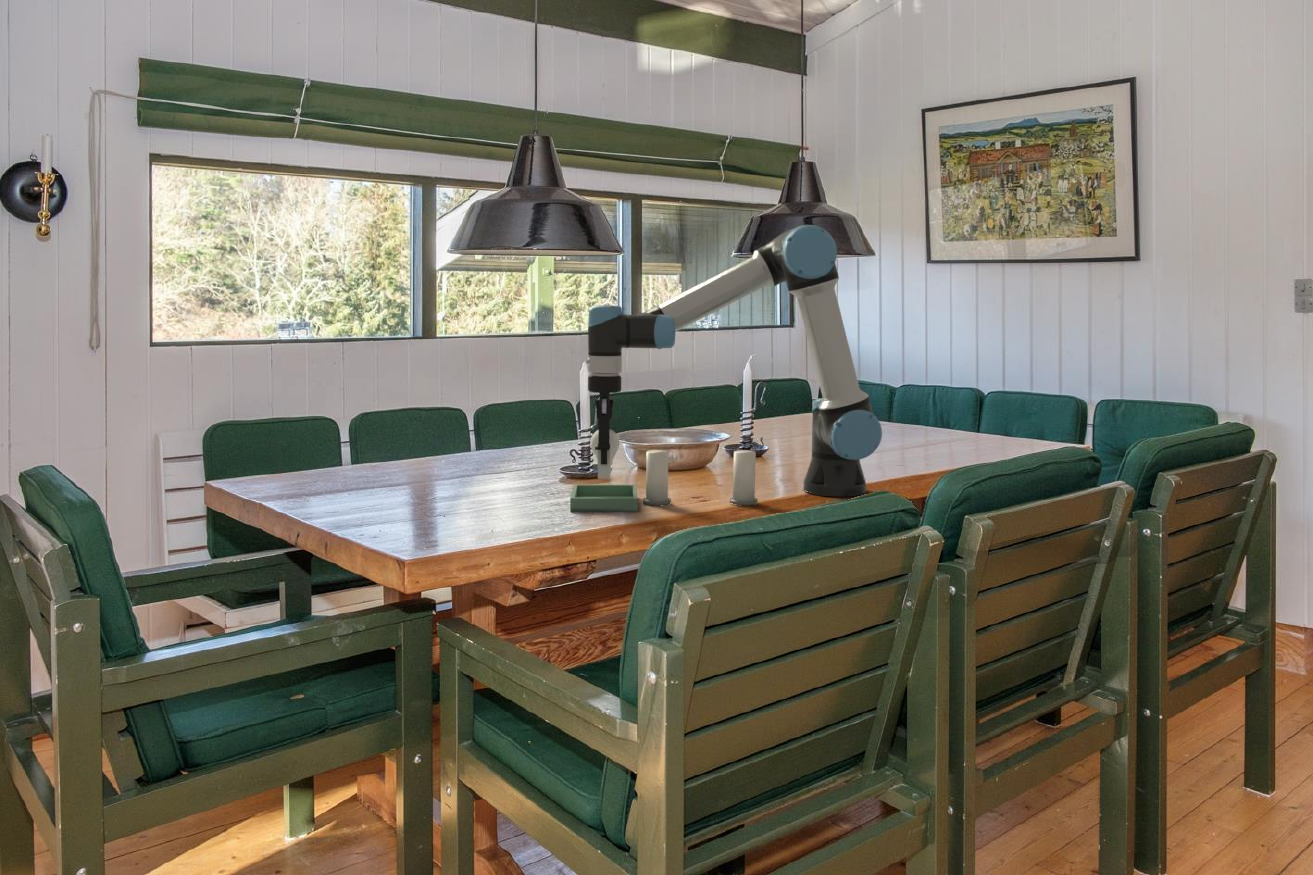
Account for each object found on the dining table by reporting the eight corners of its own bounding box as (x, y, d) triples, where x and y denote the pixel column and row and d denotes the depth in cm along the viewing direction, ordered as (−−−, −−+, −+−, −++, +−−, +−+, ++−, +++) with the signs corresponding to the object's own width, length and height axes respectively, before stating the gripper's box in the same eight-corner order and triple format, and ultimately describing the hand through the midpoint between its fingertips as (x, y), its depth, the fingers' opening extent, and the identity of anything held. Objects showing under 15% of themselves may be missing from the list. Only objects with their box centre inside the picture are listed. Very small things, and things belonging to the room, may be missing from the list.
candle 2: (755, 500, 252) (756, 450, 250) (759, 506, 245) (760, 454, 244) (728, 500, 252) (729, 449, 250) (731, 506, 245) (732, 454, 244)
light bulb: (603, 473, 250) (603, 426, 249) (625, 476, 246) (625, 428, 245) (584, 476, 245) (584, 428, 244) (606, 479, 241) (606, 431, 240)
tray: (636, 497, 255) (636, 484, 255) (637, 511, 238) (637, 498, 238) (573, 497, 255) (573, 484, 254) (570, 511, 238) (570, 498, 238)
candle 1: (670, 500, 251) (670, 449, 250) (671, 506, 245) (671, 453, 243) (642, 500, 251) (643, 449, 249) (643, 506, 245) (643, 453, 243)
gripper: (589, 371, 252) (588, 468, 255) (586, 377, 233) (586, 483, 236) (621, 371, 252) (620, 468, 255) (621, 378, 233) (620, 483, 236)
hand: (604, 475), depth 246 cm, fingers closed on light bulb, 6 cm apart
